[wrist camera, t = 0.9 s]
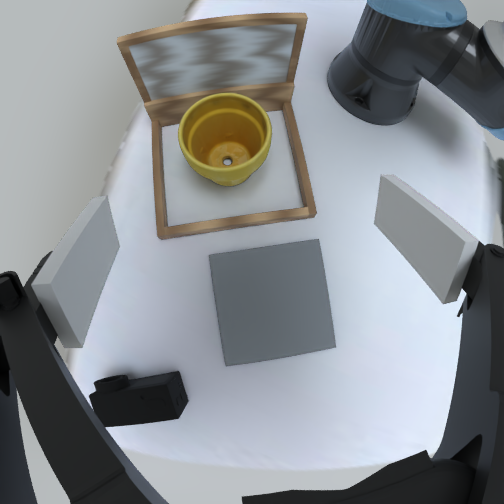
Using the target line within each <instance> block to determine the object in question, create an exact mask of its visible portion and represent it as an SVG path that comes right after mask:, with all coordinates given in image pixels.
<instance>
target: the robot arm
mask: <svg viewBox="0 0 504 504" xmlns="http://www.w3.org/2000/svg"><path fill="white" fill-rule="evenodd" d="M422 77H423V78H425V79H426V80H428V81H429V82H430V83H432V84H433V85H434V86H436V87H437V88H438V89H439V90H441V91H442V92H443V93H444V94H446V95H447V96H448V97H449V98H451V99H452V100H453V101H454V102H456V103H457V104H458V105H459V106H460V107H461V108H463V109H464V110H465V111H466V112H467V113H468V114H469V115H471V116H472V117H473V118H474V119H475V120H476V122H477V123H478V124H479V125H481V126H482V127H483V128H485V129H487V130H488V131H489V132H490V133H492V134H493V135H494V136H495V137H497V138H498V139H500V140H504V22H498V21H491V20H490V21H488V22H486V23H485V24H484V25H483V26H482V28H481V29H479V28H477V27H476V26H475V25H473V24H472V23H471V22H469V21H468V20H467V11H466V8H465V6H464V5H463V4H462V2H461V1H460V0H367V4H366V6H365V9H364V12H363V14H362V17H361V19H360V22H359V25H358V27H357V30H356V32H355V35H354V37H353V40H352V42H351V43H350V44H349V45H348V46H347V47H346V48H345V49H344V50H343V51H342V52H341V53H339V54H338V55H337V56H336V57H335V58H334V60H333V61H332V63H331V66H330V69H329V72H328V85H329V88H330V90H331V92H332V94H333V96H334V97H335V99H336V100H337V101H338V102H339V103H340V104H341V105H342V106H343V107H344V108H345V109H346V110H347V111H349V112H350V113H351V114H353V115H355V116H356V117H358V118H360V119H362V120H364V121H367V122H370V123H374V124H378V125H392V124H396V123H399V122H401V121H402V120H403V119H405V117H406V116H407V115H408V114H409V113H410V111H411V110H412V108H413V106H414V104H415V99H416V95H417V90H418V86H419V81H420V80H421V79H422ZM374 224H375V225H376V226H377V227H378V229H379V230H380V231H381V232H382V233H383V234H384V235H385V236H386V237H387V238H388V239H389V241H390V242H391V243H392V244H393V245H394V246H395V247H396V248H397V250H398V251H399V252H400V253H401V254H402V255H403V256H404V257H405V259H406V260H407V261H408V262H409V263H410V264H411V266H412V267H413V268H414V269H415V270H416V272H417V273H418V274H419V275H420V276H421V277H422V279H423V280H424V281H425V282H426V284H427V285H428V286H429V287H430V288H431V290H432V291H433V292H434V293H435V295H436V296H437V297H438V298H439V300H440V301H441V302H442V304H446V303H450V302H454V301H457V299H458V296H459V294H460V291H461V289H463V290H464V291H465V292H466V293H467V294H466V297H465V299H464V301H463V304H462V306H461V308H460V310H459V312H458V315H457V317H460V314H462V313H463V318H462V330H461V341H460V350H459V358H458V365H457V372H456V378H455V384H454V390H453V395H452V400H451V405H450V410H449V414H448V419H447V423H446V427H445V431H444V435H443V439H442V442H441V444H440V446H439V448H438V450H437V452H436V453H435V455H434V456H433V458H430V457H429V455H428V453H427V450H425V451H422V452H420V453H417V454H415V455H412V456H410V457H407V458H405V459H402V460H400V461H397V462H394V463H391V464H389V465H387V466H385V467H384V468H382V469H381V470H379V471H378V472H376V473H374V474H373V475H371V476H369V477H368V478H366V479H364V480H363V481H361V482H359V483H357V484H356V485H354V486H352V487H350V488H348V489H344V490H322V491H321V490H289V491H283V492H276V493H270V494H262V495H253V496H244V497H242V503H243V504H504V248H502V247H500V246H498V245H494V244H487V245H485V246H484V245H483V244H482V243H481V242H480V241H479V240H478V239H477V238H476V237H474V236H473V235H472V234H471V233H470V232H469V231H467V230H466V229H465V228H464V227H463V226H461V225H460V224H459V223H458V222H456V221H455V220H454V219H453V218H451V217H450V216H449V215H448V214H446V213H445V212H444V211H443V210H441V209H440V208H439V207H437V206H436V205H435V204H434V203H432V202H431V201H430V200H428V199H427V198H426V197H424V196H423V195H421V194H420V193H419V192H417V191H416V190H415V189H413V188H412V187H410V186H409V185H408V184H406V183H405V182H403V181H402V180H400V179H399V178H398V177H396V176H395V175H381V177H380V185H379V193H378V200H377V207H376V214H375V220H374ZM119 248H120V245H119V241H118V237H117V234H116V230H115V226H114V222H113V218H112V213H111V209H110V205H109V201H108V196H100V197H94V198H92V199H91V201H90V202H89V203H88V204H87V206H86V207H85V208H84V209H83V211H82V212H81V213H80V215H79V216H78V217H77V219H76V220H75V221H74V223H73V224H72V225H71V227H70V228H69V229H68V231H67V232H66V234H65V235H64V236H63V238H62V239H61V240H60V242H59V243H58V245H57V246H56V248H55V249H54V251H51V252H49V253H48V254H47V255H46V256H45V257H44V258H42V260H41V261H40V263H39V264H38V266H37V268H36V269H35V270H34V272H33V275H31V276H30V278H29V279H28V281H27V282H26V284H25V286H24V287H23V286H22V284H21V282H20V279H19V277H18V275H17V273H16V272H13V271H8V272H4V273H2V274H0V504H37V500H36V497H35V493H34V490H33V486H32V482H31V478H30V474H29V469H28V465H27V460H26V456H25V450H24V445H23V439H22V433H21V426H20V419H19V411H18V401H17V391H18V393H19V396H20V399H21V401H22V404H23V407H24V409H25V411H26V414H27V416H28V419H29V422H30V424H31V426H32V428H33V430H34V433H35V435H36V437H37V440H38V442H39V444H40V446H41V448H42V450H43V452H44V454H45V456H46V458H47V460H48V462H49V464H50V466H51V468H52V469H53V471H54V473H55V475H56V477H57V478H58V480H59V482H60V484H61V485H62V487H63V489H64V490H65V492H66V494H67V495H68V497H69V499H70V503H71V504H169V503H168V502H166V500H164V499H163V497H162V496H161V495H160V494H159V493H158V492H157V491H156V490H155V489H154V488H153V487H152V486H151V485H150V483H149V482H148V481H147V480H146V479H145V478H144V477H143V476H142V475H141V473H140V472H139V471H138V470H137V468H136V467H135V466H134V465H133V464H132V462H131V461H130V460H129V459H128V457H127V456H126V455H125V454H124V452H123V451H122V450H121V448H120V447H119V446H118V445H117V443H116V442H115V441H114V439H113V438H112V437H111V435H110V434H109V432H108V431H107V430H106V428H105V427H104V425H103V424H102V423H101V421H100V420H99V418H98V417H97V415H96V414H95V412H94V411H93V409H92V408H91V406H90V405H89V403H88V402H87V400H86V398H85V397H84V395H83V394H82V392H81V390H80V389H79V387H78V386H77V384H76V382H75V380H74V379H73V377H72V375H71V374H70V372H69V370H68V368H67V367H66V365H65V363H64V361H63V359H62V358H61V356H60V354H59V352H58V350H57V348H56V347H55V345H54V344H55V341H56V339H57V336H58V338H59V339H60V341H61V343H62V345H63V346H64V348H83V345H84V341H85V338H86V335H87V332H88V329H89V326H90V323H91V320H92V317H93V315H94V312H95V309H96V306H97V303H98V301H99V298H100V295H101V293H102V290H103V287H104V285H105V282H106V279H107V277H108V274H109V272H110V269H111V267H112V264H113V262H114V260H115V257H116V255H117V252H118V250H119ZM16 388H17V390H16Z"/></svg>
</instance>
